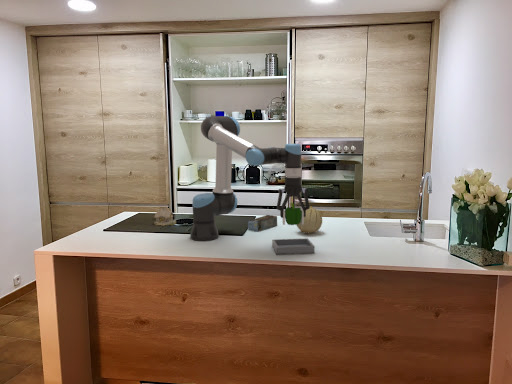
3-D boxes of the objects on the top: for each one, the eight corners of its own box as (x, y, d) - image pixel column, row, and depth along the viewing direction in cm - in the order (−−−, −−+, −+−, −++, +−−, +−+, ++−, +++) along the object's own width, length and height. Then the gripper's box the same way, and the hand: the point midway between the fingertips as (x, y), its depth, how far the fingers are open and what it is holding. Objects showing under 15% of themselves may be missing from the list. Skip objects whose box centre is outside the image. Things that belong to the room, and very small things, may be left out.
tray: (276, 254, 191) (276, 247, 190) (272, 246, 204) (272, 239, 204) (314, 253, 192) (314, 246, 192) (307, 245, 206) (307, 238, 206)
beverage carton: (247, 230, 238) (247, 219, 237) (267, 224, 252) (267, 213, 251) (257, 232, 233) (257, 221, 232) (278, 226, 247) (278, 215, 246)
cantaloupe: (295, 236, 224) (295, 209, 221) (296, 229, 238) (296, 204, 236) (322, 236, 222) (322, 209, 219) (321, 230, 236) (322, 204, 234)
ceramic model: (150, 225, 251) (149, 209, 250) (159, 221, 262) (158, 205, 261) (171, 226, 248) (170, 210, 246) (179, 222, 259) (178, 206, 257)
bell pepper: (301, 226, 192) (301, 205, 190) (283, 226, 193) (283, 205, 191) (302, 222, 200) (302, 202, 198) (285, 222, 201) (285, 202, 200)
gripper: (272, 178, 188) (272, 226, 192) (317, 177, 190) (316, 225, 194) (269, 176, 195) (270, 222, 199) (313, 175, 198) (312, 221, 201)
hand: (292, 223), depth 196 cm, fingers closed on bell pepper, 8 cm apart
